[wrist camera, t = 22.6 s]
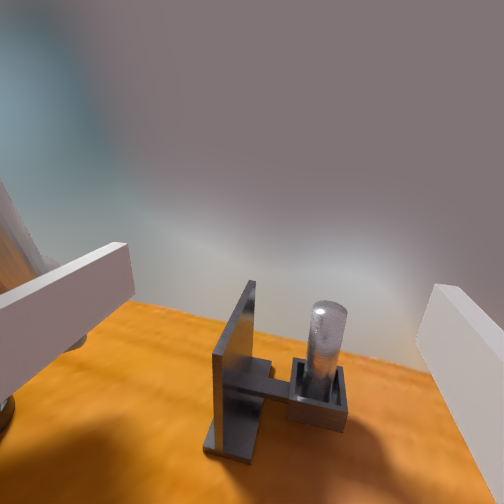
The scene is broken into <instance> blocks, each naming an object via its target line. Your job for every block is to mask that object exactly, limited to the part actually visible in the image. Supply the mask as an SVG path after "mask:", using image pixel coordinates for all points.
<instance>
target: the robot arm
mask: <svg viewBox="0 0 504 504" xmlns="http://www.w3.org/2000/svg"><path fill="white" fill-rule="evenodd" d="M133 295H135V287H134V281H133V276H132V268H131V262H130V256H129V249H128V244H126V243H118V242H112V243H110V244H108V245H106V246H104V247H102V248H100V249H97V250H95V251H93V252H91V253H89V254H87V255H85V256H83V257H80V258H78V259H76V260H74V261H72V262H70V263H68V264H65V265H63V266H61V265H60V264H59V263H58V262H56V261H55V260H53V259H52V258H49V257H47V256H44V255H40V253H39V251H38V249H37V247H36V246H35V244H34V242H33V240H32V238H31V236H30V234H29V233H28V230H27V228H26V227H25V225H24V223H23V221H22V219H21V217H20V215H19V213H18V211H17V209H16V208H15V206H14V204H13V202H12V200H11V198H10V196H9V194H8V193H7V191H6V189H5V187H4V185H3V183H2V181H1V179H0V433H1V431H2V430H3V429H4V427H5V426H6V425H7V423H8V421H9V420H10V418H11V416H12V414H13V411H14V406H15V401H14V397H13V395H12V394H13V393H14V392H15V391H17V390H18V389H19V388H20V387H22V386H23V385H24V384H25V383H26V382H28V381H29V380H30V379H31V378H33V377H34V376H35V375H36V374H38V373H39V372H40V371H41V370H42V369H44V368H45V367H46V366H47V365H49V364H50V363H51V362H52V361H54V360H55V359H56V358H57V357H58V356H60V355H61V354H62V353H65V352H69V351H72V350H75V349H78V348H80V347H81V346H82V345H83V344H84V343H85V341H86V339H87V333H88V332H89V331H90V330H92V329H93V328H94V327H95V326H96V325H98V324H99V323H100V322H101V321H103V320H104V319H105V318H106V317H108V316H109V315H110V314H111V313H112V312H114V311H115V310H116V309H117V308H119V307H120V306H121V305H122V304H124V303H125V302H126V301H127V300H128V299H130V298H131V297H132V296H133ZM415 342H416V345H417V347H418V349H419V351H420V353H421V355H422V357H423V359H424V361H425V363H426V365H427V366H428V369H429V371H430V373H431V375H432V377H433V379H434V381H435V383H436V385H437V386H438V388H439V390H440V392H441V394H442V396H443V398H444V400H445V402H446V404H447V406H448V408H449V410H450V412H451V414H452V416H453V418H454V420H455V422H456V424H457V426H458V428H459V430H460V432H461V434H462V436H463V438H464V440H465V442H466V444H467V446H468V448H469V450H470V452H471V454H472V456H473V458H474V460H475V462H476V464H477V466H478V468H479V470H480V472H481V474H482V476H483V478H484V480H485V482H486V484H487V486H488V488H489V490H490V492H491V494H492V496H493V498H494V500H495V502H496V503H497V504H504V331H503V330H502V329H500V327H498V325H497V324H496V323H495V322H494V321H493V320H492V319H491V318H490V317H489V316H487V314H486V313H485V312H483V311H482V310H481V309H480V308H479V307H478V306H477V305H476V304H475V303H474V302H473V301H472V300H471V299H470V298H469V297H468V296H467V295H466V294H465V293H464V292H463V291H462V290H461V289H460V288H459V287H458V286H451V285H443V284H435V286H434V288H433V291H432V294H431V297H430V300H429V303H428V306H427V308H426V311H425V314H424V317H423V320H422V322H421V325H420V328H419V331H418V334H417V336H416V339H415Z"/></svg>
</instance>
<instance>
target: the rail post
mask: <svg viewBox="0 0 504 504" xmlns="http://www.w3.org/2000/svg"><path fill="white" fill-rule="evenodd" d="M346 318H347V310H346V309H345V308H344V307H343V306H342V305H340V304H338V303H336V302H332V301H318V302H316V303H315V304H314V305H313V310H312V317H311V324H310V331H309V338H308V345H307V352H306V359H305V366H304V373H303V380H302V387H301V397H304V398H308V399H313V400H317V401H322V402H326V403H329V401H330V396H331V391H332V387H333V382H334V377H335V372H336V367H337V362H338V357H339V352H340V347H341V342H342V338H343V333H344V328H345V323H346Z"/></svg>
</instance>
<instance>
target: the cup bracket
mask: <svg viewBox="0 0 504 504" xmlns="http://www.w3.org/2000/svg"><path fill="white" fill-rule="evenodd" d="M255 287H256V281H252V280H249V281H248V284H247V285H246V287H245V289H244V291H243V293H242V295H241V297H240V299H239V301H238V303H237V305H236V307H235V309H234V311H233V313H232V315H231V317H230V319H229V321H228V323H227V325H226V327H225V329H224V331H223V333H222V335H221V337H220V339H219V341H218V343H217V345H216V347H215V349H214V351H213V353H212V369H213V405H214V418H213V420H212V423H211V426H210V428H209V431H208V433H207V436H206V439H205V441H204V444H203V452H207V453H210V454H214V455H217V456H221V457H224V458H228V459H231V460H235V461H238V462H242V463H245V464H249V465H251V461H252V456H253V451H254V446H255V441H256V437H257V432H258V427H259V422H260V417H261V413H262V408H263V403H264V398H265V399H269V400H273V401H277V402H282V403H286V404H288V405H287V414H286V419H287V420H291V421H295V422H299V423H303V424H308V425H312V426H316V427H320V428H324V429H328V430H332V431H336V432H340V433H343V430H344V427H345V423H346V419H347V415H348V407H347V399H346V390H345V382H344V374H343V367H340V366H337V367H336V372H335V377H334V382H333V387H332V391H331V396H330V401H329V403H326V402H322V401H317V400H313V399H308V398H304V397H301V387H302V380H303V373H304V366H305V359H300V358H295V357H293V363H292V370H291V378H290V382H286V381H281V380H277V379H272V378H269V374H270V369H271V363H272V361H269V360H264V359H260V358H255V357H252V348H253V327H254V307H255Z"/></svg>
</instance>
